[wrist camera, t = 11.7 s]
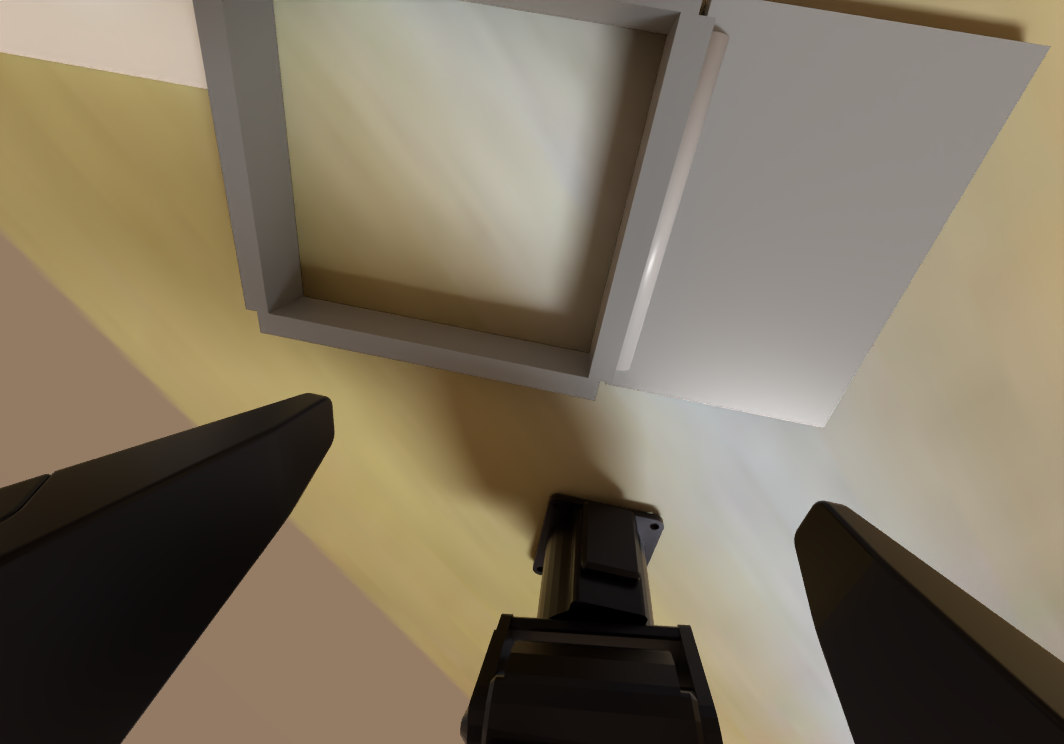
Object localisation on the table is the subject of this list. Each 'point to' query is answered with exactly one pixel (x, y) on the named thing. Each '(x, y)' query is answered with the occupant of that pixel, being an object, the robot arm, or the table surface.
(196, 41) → the pale beige square mat
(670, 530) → the table surface
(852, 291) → the grey piece
